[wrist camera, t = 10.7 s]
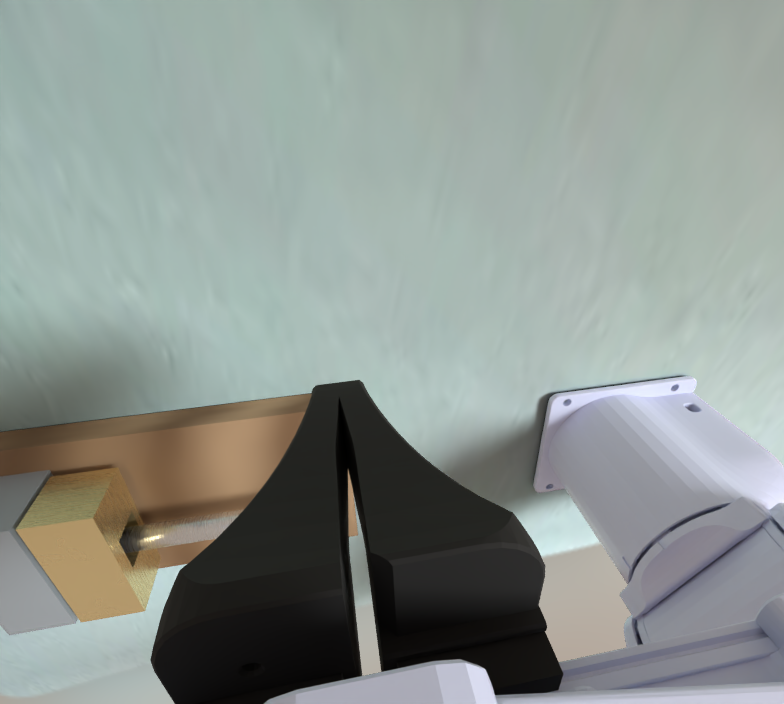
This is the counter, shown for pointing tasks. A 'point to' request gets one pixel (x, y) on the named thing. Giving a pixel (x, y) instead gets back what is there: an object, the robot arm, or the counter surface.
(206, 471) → the base
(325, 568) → the robot arm
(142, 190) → the counter surface
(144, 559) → the nut
